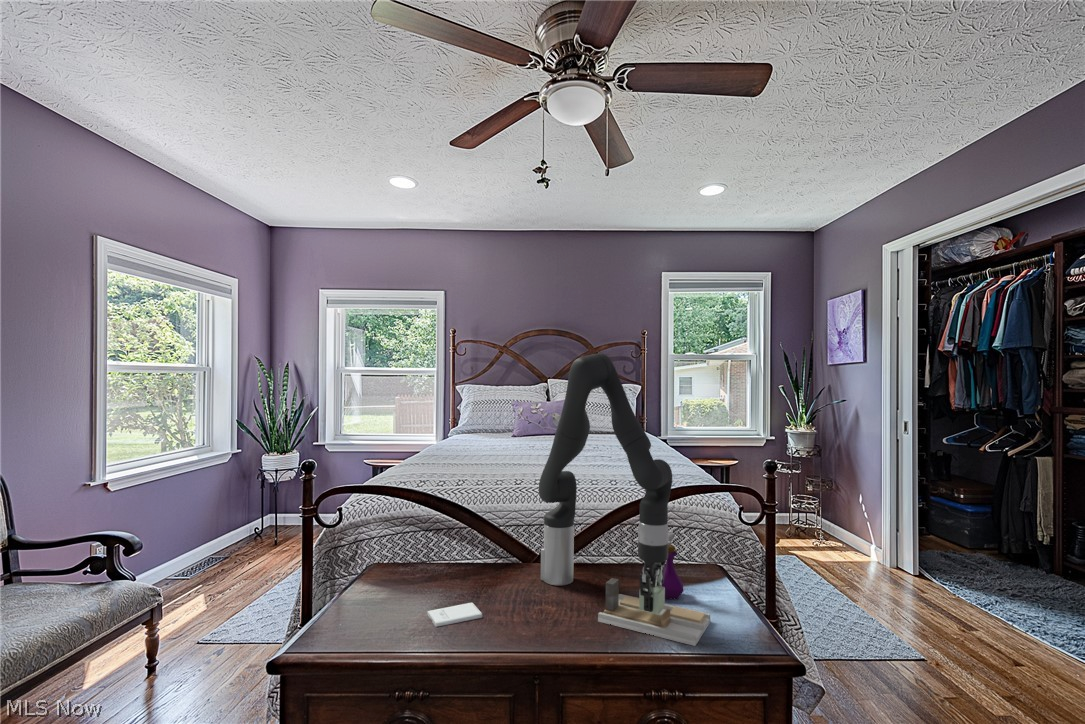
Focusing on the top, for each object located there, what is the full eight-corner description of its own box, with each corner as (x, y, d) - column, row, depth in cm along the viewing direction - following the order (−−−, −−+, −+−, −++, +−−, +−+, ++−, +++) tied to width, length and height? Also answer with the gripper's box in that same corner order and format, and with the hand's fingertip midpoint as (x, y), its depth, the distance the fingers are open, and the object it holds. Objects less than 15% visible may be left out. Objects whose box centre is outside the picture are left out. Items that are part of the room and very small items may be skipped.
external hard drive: (482, 619, 148) (435, 629, 142) (471, 607, 155) (426, 616, 149) (482, 613, 148) (435, 622, 142) (471, 601, 155) (427, 609, 149)
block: (639, 609, 142) (639, 589, 142) (645, 602, 147) (646, 583, 147) (658, 614, 140) (658, 594, 140) (664, 606, 144) (664, 587, 144)
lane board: (598, 621, 146) (598, 611, 146) (619, 600, 159) (620, 591, 159) (695, 646, 134) (695, 635, 134) (710, 621, 147) (710, 611, 147)
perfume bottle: (683, 602, 158) (684, 538, 158) (656, 600, 160) (656, 536, 160) (682, 592, 166) (682, 530, 166) (656, 590, 167) (656, 528, 167)
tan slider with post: (603, 615, 147) (604, 583, 147) (611, 608, 151) (611, 577, 151) (664, 629, 139) (664, 596, 139) (670, 622, 143) (670, 589, 143)
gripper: (658, 550, 135) (657, 621, 135) (675, 534, 148) (674, 599, 148) (629, 544, 139) (628, 614, 139) (648, 530, 151) (647, 593, 152)
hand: (652, 606), depth 143 cm, fingers closed on block, 5 cm apart
